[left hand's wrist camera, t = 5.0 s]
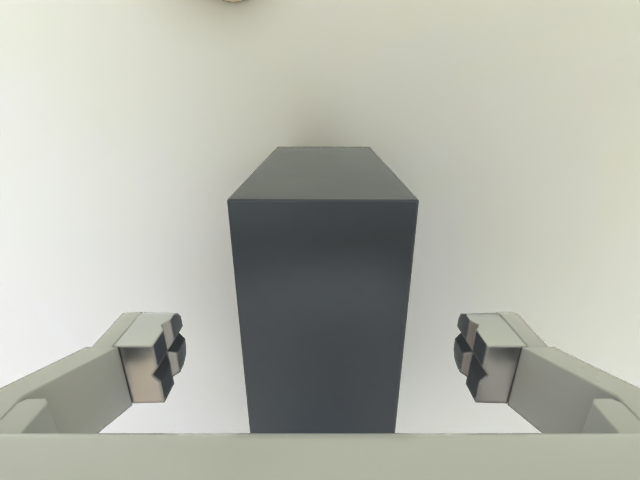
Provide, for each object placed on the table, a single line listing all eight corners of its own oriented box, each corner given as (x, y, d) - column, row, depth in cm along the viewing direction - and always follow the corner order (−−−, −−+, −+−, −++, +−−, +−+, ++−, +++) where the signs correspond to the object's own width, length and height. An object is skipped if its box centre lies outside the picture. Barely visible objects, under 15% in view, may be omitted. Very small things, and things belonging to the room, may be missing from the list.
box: (277, 146, 22) (226, 199, 11) (370, 146, 22) (419, 199, 11) (291, 461, 33) (272, 661, 21) (354, 461, 33) (371, 663, 21)
